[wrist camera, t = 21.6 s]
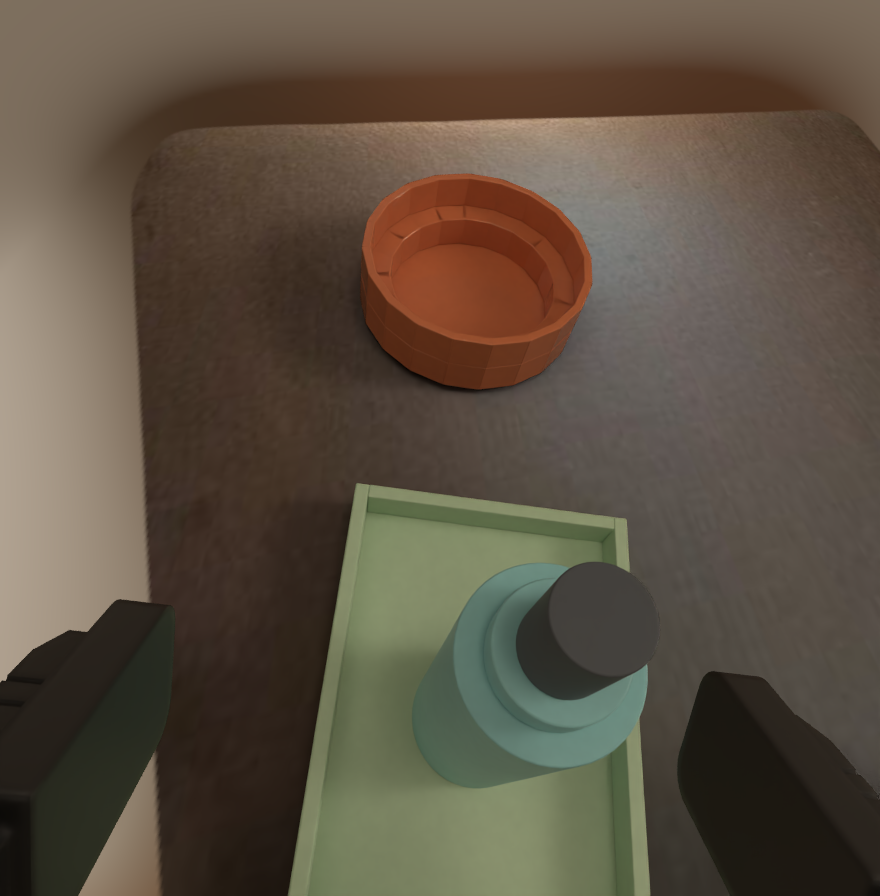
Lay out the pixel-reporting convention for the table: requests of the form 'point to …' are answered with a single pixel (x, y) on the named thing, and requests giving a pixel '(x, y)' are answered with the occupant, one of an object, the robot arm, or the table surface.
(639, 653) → the bottle
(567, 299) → the bowl
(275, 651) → the table surface
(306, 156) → the table surface
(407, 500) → the tray
